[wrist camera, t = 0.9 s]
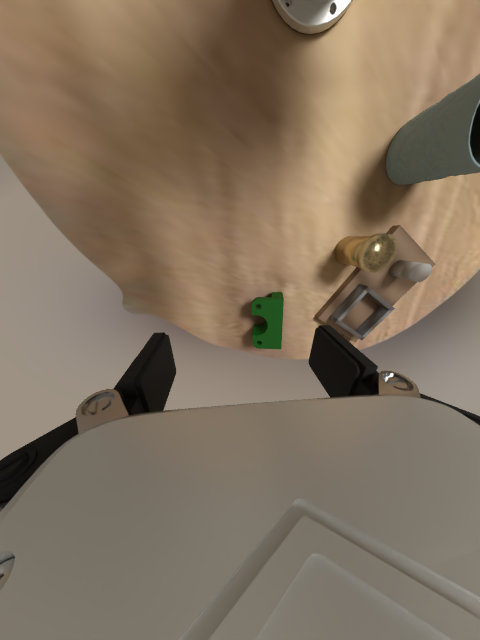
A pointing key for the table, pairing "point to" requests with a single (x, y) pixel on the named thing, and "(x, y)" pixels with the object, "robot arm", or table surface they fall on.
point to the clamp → (268, 321)
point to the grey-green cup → (439, 140)
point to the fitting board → (376, 290)
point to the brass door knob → (367, 251)
